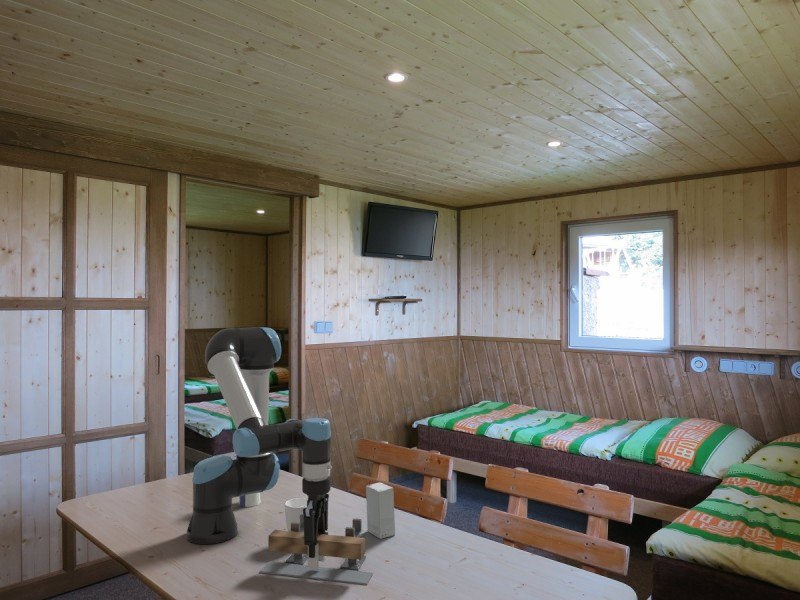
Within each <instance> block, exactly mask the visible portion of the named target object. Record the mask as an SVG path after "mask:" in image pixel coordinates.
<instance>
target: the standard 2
mask: <svg viewBox="0 0 800 600" xmlns="http://www.w3.org/2000/svg"><path fill="white" fill-rule="evenodd" d="M362 519H363V518H362ZM362 519H361V518H353V519H352V527H349V526H346V527H345V529H344V530H345V532H344V533H345V534H344V536H347V537H358V538H360V534H361V533H362V528H363V527H362V526H363V524H362V521H363V520H362ZM366 558H367V555H364V556H363V557H362V559H361V560H359V559H349V558H345V560H344V561H343V562H342V564H341V565H340V568H339V569H344V570H353V571H360V569H361V567H362V565H363V564H364V563H365V561H366Z"/></svg>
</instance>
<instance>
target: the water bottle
mask: <svg viewBox="0 0 800 600" xmlns="http://www.w3.org/2000/svg"><path fill="white" fill-rule="evenodd" d="M260 504H261V493H253V494H248V495H244V496H239V497H238V506H240V507H244V508H252V507H255V506H256V507H257V506H258V505H260Z"/></svg>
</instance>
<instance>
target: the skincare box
mask: <svg viewBox="0 0 800 600" xmlns="http://www.w3.org/2000/svg"><path fill="white" fill-rule="evenodd" d="M394 493H395V492H394V487H392V486H390V485H387V484H385V483H383V482H375V483H372V484H368V485H365V494H366V495H365V498H366V500H365V501H366V518H367V519H366V520H367V521H366V522H367V523H366V528H367V530H366V531H367V532H368V533H370V534H371V535H373V536H374V537H377V538H378V539H381V540H382V539H384V538H389V537H390V538H391V537H394V536H395V535H396V521H395V500H394V499H395V498H394Z"/></svg>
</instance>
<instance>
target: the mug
mask: <svg viewBox="0 0 800 600" xmlns="http://www.w3.org/2000/svg"><path fill="white" fill-rule="evenodd" d="M307 500H308V497H295V498H291V499H288V500H287V501H285V503H284V504H285V505H284V507H285V509H284V510H285V525H286V531H291V523H292V522H296V523H300V515H301V514H303V509H304V508H307Z"/></svg>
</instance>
